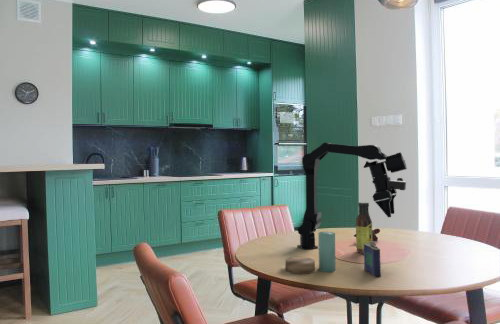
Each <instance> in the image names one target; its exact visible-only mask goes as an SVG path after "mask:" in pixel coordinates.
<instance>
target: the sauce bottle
mask: <svg viewBox="0 0 500 324" xmlns="http://www.w3.org/2000/svg"><path fill="white" fill-rule="evenodd" d="M357 204H358V205H357V206H358V215H357V217H356V219H355V234H356V237H355V238H356V239H355V241H356V242H355V243H356V244H355V245H356V246H355V247H356V252H357V253H359V254H364V244H370V242H369V241H372V230H373V222H372V219H371V216H370V212H369V207H370V205H369V204H370V203H369V202H367V201H360V202H358V203H357Z"/></svg>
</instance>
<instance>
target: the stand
mask: <svg viewBox="0 0 500 324" xmlns="http://www.w3.org/2000/svg"><path fill="white" fill-rule="evenodd" d="M284 263H285V271H286V272H288V273H289V274H294V275H295V274H297V275H306V274H312V273H314V272H315V270H316V261H315V259H314V258H310V257H305V256H304V257H303V256H294V257H290V258H287V259H285V262H284Z"/></svg>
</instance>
